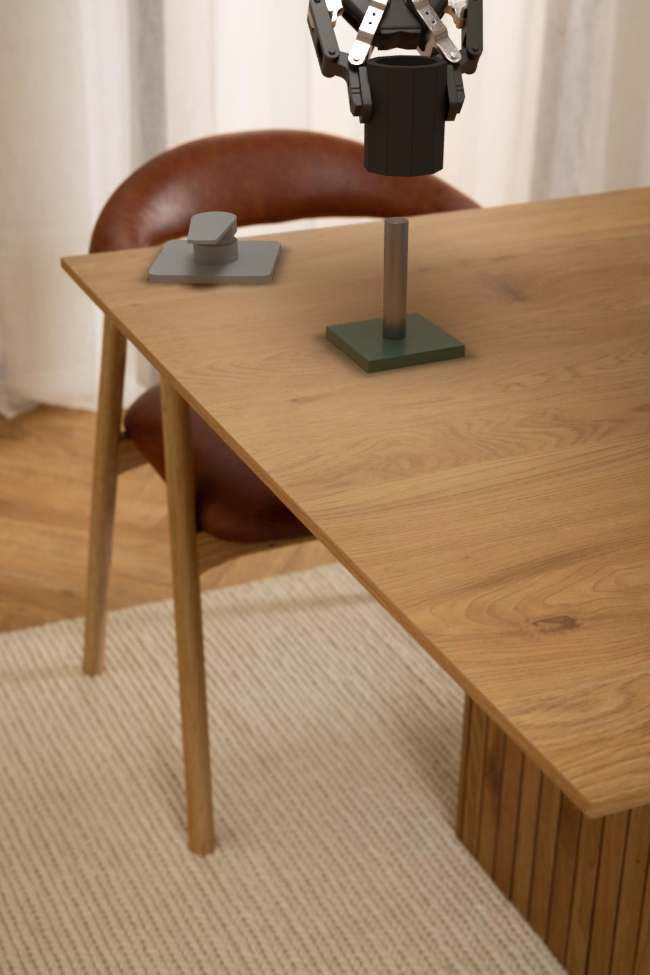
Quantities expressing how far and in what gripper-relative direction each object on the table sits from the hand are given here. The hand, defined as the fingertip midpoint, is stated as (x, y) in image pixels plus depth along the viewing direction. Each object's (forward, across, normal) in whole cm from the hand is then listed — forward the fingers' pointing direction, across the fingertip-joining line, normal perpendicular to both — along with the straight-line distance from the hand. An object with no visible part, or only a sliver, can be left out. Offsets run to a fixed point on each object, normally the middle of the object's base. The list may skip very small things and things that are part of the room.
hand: (409, 115), depth 90 cm
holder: (+12, 0, +17) cm, 20 cm away
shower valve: (-6, -14, +35) cm, 38 cm away
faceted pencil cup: (+2, 0, +4) cm, 5 cm away
